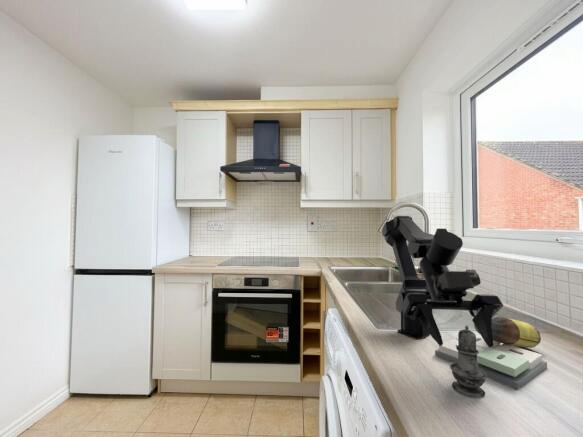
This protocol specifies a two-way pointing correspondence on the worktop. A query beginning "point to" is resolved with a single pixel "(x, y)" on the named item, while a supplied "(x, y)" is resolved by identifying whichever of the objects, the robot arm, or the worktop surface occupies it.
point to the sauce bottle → (514, 332)
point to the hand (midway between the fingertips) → (466, 345)
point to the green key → (502, 362)
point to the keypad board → (535, 367)
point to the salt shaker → (468, 367)
